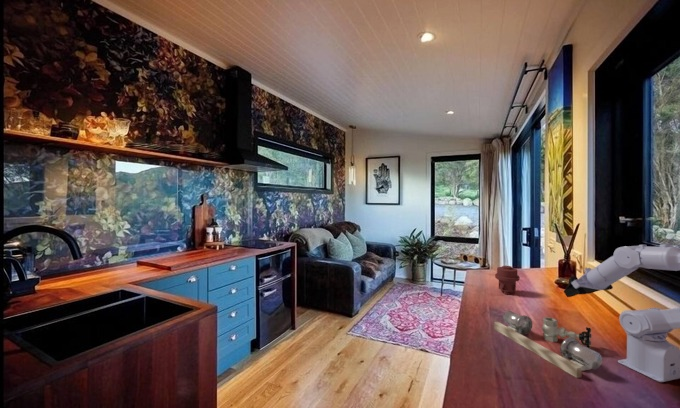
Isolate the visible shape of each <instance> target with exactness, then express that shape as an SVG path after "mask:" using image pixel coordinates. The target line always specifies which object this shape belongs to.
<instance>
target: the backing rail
mask: <svg viewBox="0 0 680 408" xmlns="http://www.w3.org/2000/svg"><path fill="white" fill-rule="evenodd" d="M493 330H494V331H496V332H498V333H500V334H501V335H503V336H505V337H507V338H508V339H510V340H512V341H513V342H514V343H517V344H518V345H520V346H522V347H523V348H525V349H527V350H529V351H531V352H532V353H534V354H536V355H537V356H538V357H541V358H542V359H544V360H546V362H547V361H548V362H549V363H551V364H553V365H554V366H556V367H557V368H559V369H561V370H563V371H564V372H566V373H567V374H569V375H571V376H573V377H575V378H576V379H578V378H582V371H581V367H580V366H578V365H576V364H574V363H573V362H571V361H570V360H569V359H566V358H565V357H563V356H561V354H560V355H559V354H558V353H557V352H554V351H553V350H550V349H549V348H547V347H545V346H543V345H541V344H540V343H537V342H536V341H534V340H533V339H530V338H529V337H527V336H525V335H524V334H521V333H518V332H516V331H514V330H512V329H510V328H509V327H508V326H506V325H505V324H504V323H501V322H500V321H493Z"/></svg>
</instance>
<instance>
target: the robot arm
mask: <svg viewBox="0 0 680 408" xmlns="http://www.w3.org/2000/svg"><path fill="white" fill-rule="evenodd" d="M639 268H643V269H650V270H651V269H652V270H662V271H675V272H677V271H680V248H679V247H677V246H671V243H669V244H668V243H667V244H659V246H647V244H639V245H631V246H630V245H629V246H626V245H625V246H620V247H617V248H615V250H614V252H613V255H611V256H610V257H608V258H607V259H605V260H604V261H603V262H601V263H600V264H598V265H596V266H595V267H594V268H590V267H586V268H584V269H583V270H584V274H583V275H581V276H580V277H579V278H578V277H577V276H576V275H575V276H570V278H568V284H567V286H566V287H565V289H564V290H563V293H564V295H565V296H566V297H567V298H572V297H574V296H578V295H588V294H589V295H590V294H593V293H596V292H599V291H610V290H613V288H614V287H613V284H614V283H616V282H618V281H619V280H621V279H623V278H625V277H626V276H628V275H630V274H631V273H632V272H634V271H637V270H638V269H639ZM618 320H619V324H620V326H621V328H623V330H624V333H626V358H623V359H618V360H617V363H619V364H621V365H623V366H625V367H627V368H629V369H632V370H633V371H635V372H637V373H640V374H642V375H644V376H645V377H648V378H650V379H652V380H654V381H656V382H659V383H664V382H670V381H674V380H679V379H680V348H679V347H678V346H677V345H674V344H672V343H671V342H669V341H668V339H667V338H668V333H671V332H672V331H674V330H675V329H676V330H677V329H678V330H679V329H680V307H675V308H667V309H663V308H659V307H649V308H647V309H635V310H629V309H628V310H623V311H622V312H621V313H620V314H619V319H618Z"/></svg>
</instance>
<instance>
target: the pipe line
mask: <svg viewBox="0 0 680 408" xmlns="http://www.w3.org/2000/svg"><path fill="white" fill-rule="evenodd" d="M502 319H503V321H504V323H505V324H507V325H508V326H507V327H509V328H510V329H512V330H514V331H516V332H518V333H520V334H521V335H527V334H529V333H530V332H531V331H532V330H533V320H532V319H531V317H530V316H528V315H524V314H523V315H520V314H517V313H516V312H513V311H511V310H507V311H505V312H504V314H503V316H502ZM559 348H560V353H561V354H560V355H562V357H563V358H565V359H567V360H569V361H571V362H573V363H574V364H576V365H578V366H580V367H581V372H584V371H588V370H597V369H598V368H600V366H601V364H602V362H603V357H602V355H601V354H600V352H597V351H595V350H594V349H591V348H590V349H589V348H587V347H585V345H583V344H582V343H581V342H580V340H579V339H578V338H577V339H576V337H575V338H573V337H569V336H568V337H565V338H563V341H562V342H561V344H560V347H559Z"/></svg>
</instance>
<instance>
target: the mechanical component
mask: <svg viewBox="0 0 680 408" xmlns="http://www.w3.org/2000/svg"><path fill="white" fill-rule="evenodd" d="M494 278H495V279H496V280H497V281H498V289H499V290H500V291H501V292H503V294H504V295H511V294H512V295H513V294H516V290H517V282H519V281H521V280H520V275H518V269H517V268H515V267H512V266H511V265H502V266H498V267H497V268H496V273H495V274H494Z"/></svg>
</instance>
